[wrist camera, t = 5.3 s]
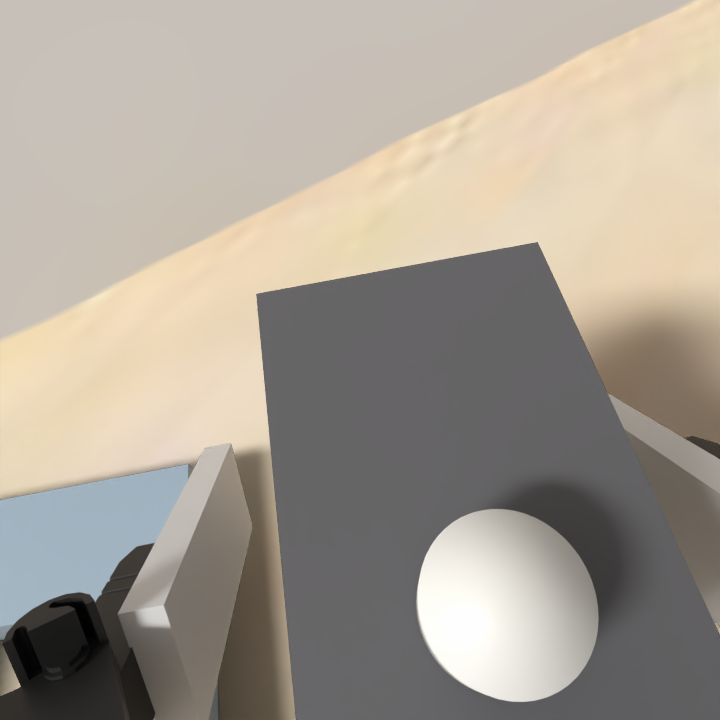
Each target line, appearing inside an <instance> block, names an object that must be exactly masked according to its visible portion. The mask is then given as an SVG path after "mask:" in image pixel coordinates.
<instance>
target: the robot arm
mask: <svg viewBox="0 0 720 720" xmlns="http://www.w3.org/2000/svg"><path fill="white" fill-rule="evenodd" d="M608 395H609V397H610V400H611V402H612V404H613V406H614V408H615V410H616V412H617V415H618V417H619V419H620V421H621V423H622V425H623V428H624V430H625V432H626V434H627V436H628V438H629V440H630V443H631V445H632V447H633V449H634V451H635V453H636V456H637V458H638V460H639V462H640V464H641V466H642V469H643V471H644V473H645V475H646V477H647V479H648V481H649V484H650V486H651V488H652V490H653V492H654V494H655V497H656V499H657V501H658V503H659V505H660V507H661V509H662V512H663V514H664V516H665V518H666V520H667V522H668V525H669V527H670V529H671V531H672V533H673V535H674V538H675V540H676V542H677V544H678V546H679V548H680V550H681V553H682V555H683V557H684V559H685V561H686V563H687V566H688V568H689V570H690V572H691V574H692V576H693V578H694V581H695V583H696V585H697V587H698V589H699V591H700V594H701V596H702V598H703V600H704V602H705V604H706V607H707V609H708V611H709V613H710V615H711V617H712V619H713V621H714V622H715V623H716V624H717V625H718V626H719V627H720V445H719V444H717V443H714V442H710V441H707V440H704V439H700V438H697V437H693V436H691V437H686V438H683V437H681V436H680V435H678V434H676V433H674V432H673V431H671V430H669V429H668V428H666V427H664V426H663V425H661V424H659V423H657V422H656V421H654V420H652V419H651V418H649V417H647V416H646V415H644V414H642V413H641V412H639V411H637V410H635V409H634V408H632V407H630V406H629V405H627V404H625V403H624V402H622V401H620V400H619V399H617V398H615V397H613V396H612V395H610V394H608ZM252 528H253V525H252V521H251V518H250V514H249V510H248V506H247V502H246V498H245V495H244V491H243V487H242V483H241V479H240V475H239V472H238V468H237V464H236V460H235V456H234V452H233V449H232V445H231V443H229V444H224V445H218V446H213V447H208V448H205V449H204V450H203V452H202V454H201V456H200V458H199V460H198V462H197V464H196V466H195V468H194V469H193V471H192V473H191V475H190V477H189V479H188V481H187V483H186V485H185V487H184V489H183V490H182V492H181V494H180V496H179V498H178V500H177V502H176V504H175V506H174V508H173V509H172V511H171V513H170V515H169V517H168V519H167V521H166V523H165V525H164V527H163V529H162V530H161V532H160V534H159V536H158V538H157V540H156V542H155V543H151V544H146V545H141V546H137V547H135V548H134V549H133V550H132V551H131V552H130V553H129V554H128V555H127V556H126V557H124V558H123V559H122V560H121V561H120V562H119V563H118V565H117V567H116V568H115V570H114V572H113V573H112V575H111V577H110V578H109V579H110V581H109V582H107V583H106V585H105V587H104V588H103V590H102V592H101V593H102V594H101V595H100V596H99V597H98V598H97V600H96V602H95V601H94V599H93V598H92V597H91V595H90V594H86V593H81V592H77V593H70V594H64V595H61V596H59V597H56V598H53V599H50V600H48V601H46V602H44V603H42V604H41V605H39V606H37V607H35V608H33V609H32V610H30V611H29V612H28V613H26V614H25V615H24V616H22V617H21V618H20V619H19V620H17V621H16V623H15V624H14V625H13V626H12V627H11V628H10V629H9V631H8V632H7V633H6V636H5V638H4V641H3V646H4V648H5V650H6V653H7V655H8V657H9V660H10V662H11V664H12V667H13V669H14V671H15V673H16V676H17V678H18V680H19V683H20V685H21V687H20V688H18V689H16V690H14V691H12V692H10V693H7V694H5V695H3V696H0V720H153V719H154V718H155V720H208V719H209V715H210V711H211V706H212V702H213V698H214V693H215V689H216V684H217V680H218V676H219V671H220V667H221V663H222V658H223V654H224V650H225V645H226V641H227V637H228V632H229V628H230V623H231V619H232V615H233V610H234V606H235V602H236V597H237V593H238V589H239V584H240V580H241V576H242V571H243V567H244V562H245V558H246V554H247V549H248V545H249V541H250V536H251V532H252Z"/></svg>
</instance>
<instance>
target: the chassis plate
mask: <svg viewBox="0 0 720 720" xmlns="http://www.w3.org/2000/svg"><path fill="white" fill-rule="evenodd" d="M192 471H193V468H192V467H191V466H190V465H188V464H186V465H181V466H175V467H170V468H165V469H160V470H155V471H149V472H144V473H139V474H134V475H128V476H123V477H118V478H113V479H108V480H102V481H97V482H92V483H87V484H82V485H76V486H71V487H66V488H61V489H56V490H50V491H45V492H40V493H35V494H29V495H24V496H19V497H14V498H9V499H3V500H0V640H4V638H5V636H6V633H7V632H8V631H9V629H10V628H11V627H12V626H13V625H14V624H15V623H16V621H17V620H19V619H20V618H21V617H22V616H24V615H25V614H26V613H28V612H29V611H30V610H32V609H33V608H35V607H37V606H39V605H41V604H42V603H44V602H46V601H48V600H50V599H53V598H56V597H59V596H61V595H64V594H70V593H77V592H81V593H86V594H90V595H91V597H92V598H93V599H94V601H95V602H96V600H97V598H98V597H99V596H100V595H101V594H102V593H101V592H102V590H103V588H104V587H105V585H106V583H107V582H109V581H110V579H109V578H110V577H111V575H112V573H113V572H114V570H115V568H116V567H117V565H118V563H119V562H120V561H121V560H122V559H123V558H124V557H126V556H127V555H128V554H129V553H130V552H131V551H132V550H133V549H134V548H135V547H137V546H141V545H146V544H151V543H155V542H156V540H157V538H158V536H159V534H160V532H161V530H162V529H163V527H164V525H165V523H166V521H167V519H168V517H169V515H170V513H171V511H172V509H173V508H174V506H175V504H176V502H177V500H178V498H179V496H180V494H181V492H182V490H183V489H184V487H185V485H186V483H187V481H188V479H189V477H190V475H191V473H192ZM153 720H155V718H154V719H153ZM208 720H219V715H218V683H217V684H216V689H215V693H214V698H213V702H212V706H211V711H210V715H209V719H208Z"/></svg>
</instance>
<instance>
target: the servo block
mask: <svg viewBox="0 0 720 720" xmlns="http://www.w3.org/2000/svg"><path fill="white" fill-rule="evenodd" d="M256 295H257V306H258V317H259V327H260V338H261V349H262V360H263V370H264V381H265V392H266V403H267V413H268V424H269V435H270V446H271V457H272V467H273V478H274V489H275V500H276V510H277V521H278V532H279V543H280V553H281V564H282V575H283V586H284V596H285V607H286V618H287V629H288V639H289V650H290V661H291V672H292V682H293V693H294V704H295V715H296V720H720V635H719V632H718V630H717V628H716V626H715V624H714V622H713V619H712V617H711V615H710V613H709V611H708V609H707V607H706V604H705V602H704V600H703V598H702V596H701V594H700V591H699V589H698V587H697V585H696V583H695V581H694V578H693V576H692V574H691V572H690V570H689V568H688V566H687V563H686V561H685V559H684V557H683V555H682V553H681V550H680V548H679V546H678V544H677V542H676V540H675V538H674V535H673V533H672V531H671V529H670V527H669V525H668V522H667V520H666V518H665V516H664V514H663V512H662V509H661V507H660V505H659V503H658V501H657V499H656V497H655V494H654V492H653V490H652V488H651V486H650V484H649V481H648V479H647V477H646V475H645V473H644V471H643V469H642V466H641V464H640V462H639V460H638V458H637V456H636V453H635V451H634V449H633V447H632V445H631V443H630V440H629V438H628V436H627V434H626V432H625V430H624V428H623V425H622V423H621V421H620V419H619V417H618V415H617V412H616V410H615V408H614V406H613V404H612V402H611V400H610V397H609V395H608V393H607V391H606V389H605V387H604V384H603V382H602V380H601V378H600V376H599V374H598V371H597V369H596V367H595V365H594V363H593V361H592V359H591V356H590V354H589V352H588V350H587V348H586V346H585V343H584V341H583V339H582V337H581V335H580V333H579V331H578V328H577V326H576V324H575V322H574V320H573V318H572V315H571V313H570V311H569V309H568V307H567V305H566V302H565V300H564V298H563V296H562V294H561V292H560V290H559V287H558V285H557V283H556V281H555V279H554V277H553V274H552V272H551V270H550V268H549V266H548V264H547V262H546V259H545V257H544V255H543V253H542V251H541V249H540V246H539V244H538V242H536V243H530V244H525V245H520V246H514V247H509V248H503V249H498V250H492V251H487V252H482V253H476V254H471V255H465V256H460V257H454V258H449V259H444V260H438V261H433V262H427V263H422V264H416V265H411V266H405V267H400V268H395V269H389V270H384V271H378V272H373V273H367V274H362V275H357V276H351V277H346V278H340V279H335V280H329V281H324V282H319V283H313V284H308V285H302V286H297V287H291V288H286V289H280V290H275V291H270V292H264V293H259V294H256Z"/></svg>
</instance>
